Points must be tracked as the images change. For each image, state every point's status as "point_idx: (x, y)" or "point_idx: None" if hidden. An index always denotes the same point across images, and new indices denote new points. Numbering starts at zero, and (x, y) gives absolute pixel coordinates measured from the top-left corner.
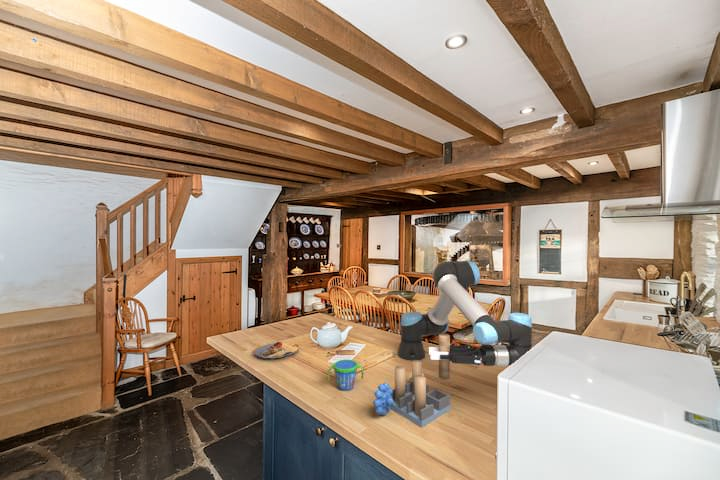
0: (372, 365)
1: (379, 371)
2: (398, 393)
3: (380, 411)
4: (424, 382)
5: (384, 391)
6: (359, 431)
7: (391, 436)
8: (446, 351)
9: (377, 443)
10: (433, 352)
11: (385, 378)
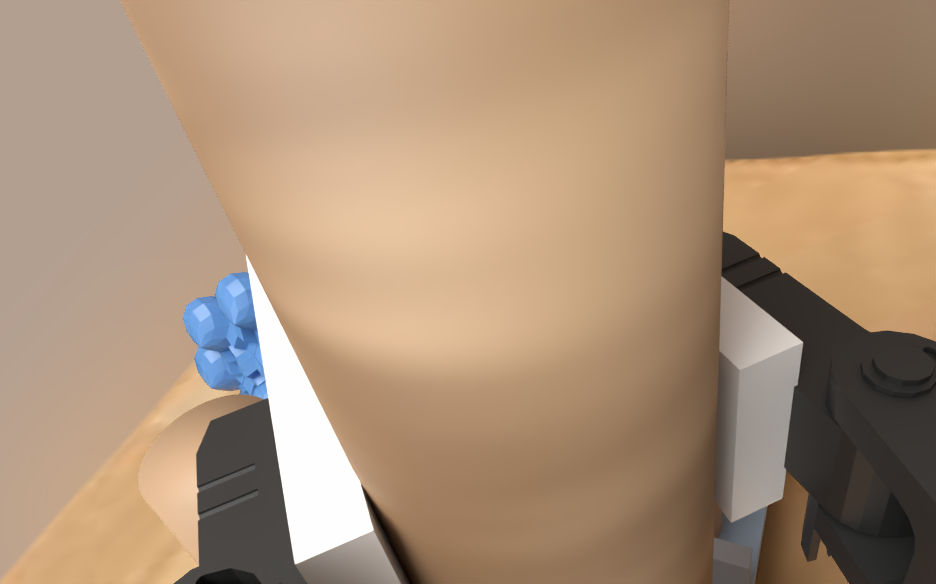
0: (880, 154)
1: (843, 206)
2: None
3: None
4: (174, 528)
5: (254, 331)
6: (162, 418)
7: (126, 572)
8: (358, 468)
9: (62, 532)
10: (251, 266)
11: (784, 265)
